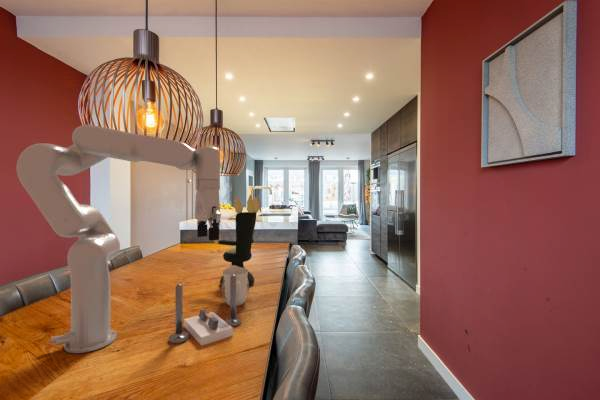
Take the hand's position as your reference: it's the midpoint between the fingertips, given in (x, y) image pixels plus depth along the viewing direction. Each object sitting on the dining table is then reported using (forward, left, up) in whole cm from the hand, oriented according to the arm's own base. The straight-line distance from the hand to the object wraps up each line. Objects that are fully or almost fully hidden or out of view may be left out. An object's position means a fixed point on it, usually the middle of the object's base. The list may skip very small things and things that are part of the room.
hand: (208, 238), depth 94 cm
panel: (0, 0, -30) cm, 30 cm away
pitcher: (+18, +16, -31) cm, 39 cm away
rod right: (+9, 0, -30) cm, 32 cm away
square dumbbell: (0, 0, -28) cm, 28 cm away
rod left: (-9, 0, -30) cm, 32 cm away
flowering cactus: (+31, +38, -31) cm, 58 cm away
